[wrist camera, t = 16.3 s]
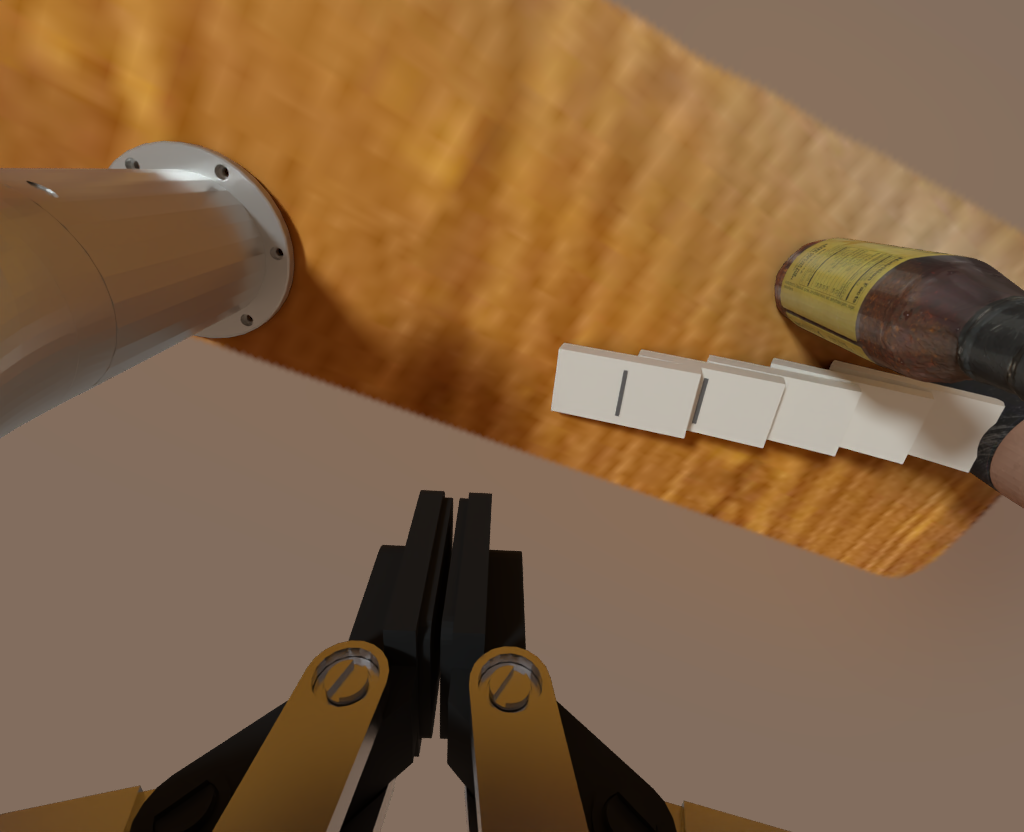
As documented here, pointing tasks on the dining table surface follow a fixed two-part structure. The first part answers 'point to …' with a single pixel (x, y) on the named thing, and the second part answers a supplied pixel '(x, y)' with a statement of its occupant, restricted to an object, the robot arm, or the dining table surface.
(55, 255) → the robot arm
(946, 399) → the domino
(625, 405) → the domino
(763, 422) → the domino
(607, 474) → the dining table surface
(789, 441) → the domino
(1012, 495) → the travel mug
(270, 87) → the dining table surface
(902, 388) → the domino
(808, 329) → the sauce bottle
